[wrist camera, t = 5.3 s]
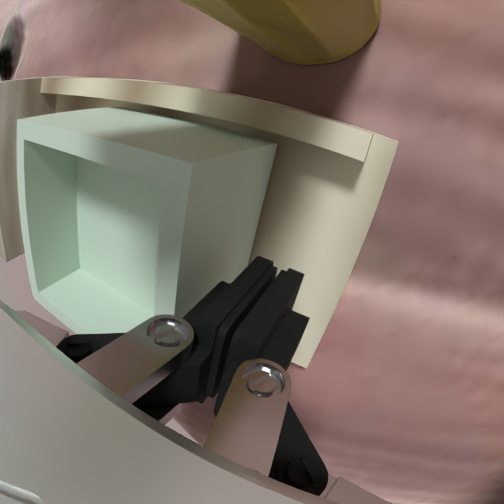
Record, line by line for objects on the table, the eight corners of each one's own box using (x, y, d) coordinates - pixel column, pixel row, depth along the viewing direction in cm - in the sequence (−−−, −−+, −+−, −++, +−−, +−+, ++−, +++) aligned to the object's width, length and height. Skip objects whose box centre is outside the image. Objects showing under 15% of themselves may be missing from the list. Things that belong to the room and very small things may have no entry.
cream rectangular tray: (397, 141, 12) (406, 154, 7) (312, 354, 17) (275, 437, 12) (58, 76, 17) (-14, 83, 12) (53, 224, 23) (-5, 251, 18)
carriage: (277, 142, 12) (193, 163, 7) (234, 318, 17) (168, 396, 11) (116, 106, 15) (17, 119, 9) (108, 253, 19) (33, 297, 14)
